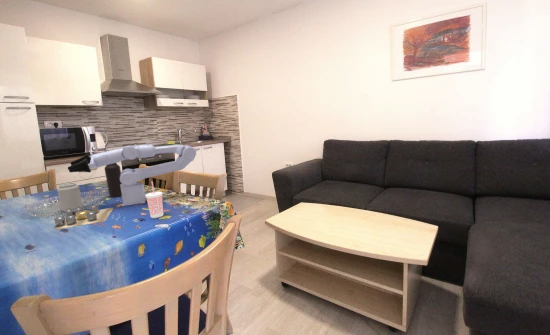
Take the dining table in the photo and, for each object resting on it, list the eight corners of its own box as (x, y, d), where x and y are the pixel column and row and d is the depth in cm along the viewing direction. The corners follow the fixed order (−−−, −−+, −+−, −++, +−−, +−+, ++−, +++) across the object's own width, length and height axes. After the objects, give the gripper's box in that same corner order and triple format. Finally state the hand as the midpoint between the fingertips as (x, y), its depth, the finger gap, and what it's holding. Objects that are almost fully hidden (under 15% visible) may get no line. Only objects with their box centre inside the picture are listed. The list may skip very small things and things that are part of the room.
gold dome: (91, 215, 108) (90, 209, 107) (88, 218, 104) (87, 212, 103) (78, 217, 106) (77, 211, 106) (75, 221, 102) (73, 215, 102)
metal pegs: (102, 210, 113) (101, 203, 112) (95, 220, 101) (94, 213, 100) (66, 216, 108) (64, 209, 108) (53, 228, 96) (52, 220, 96)
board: (113, 208, 116) (113, 207, 116) (105, 222, 101) (105, 220, 100) (69, 215, 110) (69, 214, 110) (53, 231, 95) (53, 229, 95)
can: (71, 213, 113) (66, 186, 111) (57, 213, 115) (51, 186, 112) (87, 207, 120) (82, 181, 118) (73, 207, 122) (68, 181, 120)
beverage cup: (161, 211, 109) (156, 178, 106) (167, 215, 105) (163, 180, 102) (146, 216, 105) (140, 181, 102) (152, 219, 101) (146, 184, 98)
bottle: (106, 197, 135) (99, 158, 131) (116, 193, 141) (109, 156, 138) (118, 197, 134) (111, 158, 130) (127, 193, 140) (121, 156, 136)
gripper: (104, 146, 120) (68, 154, 114) (103, 153, 108) (63, 162, 102) (109, 160, 122) (75, 169, 117) (109, 169, 111) (70, 179, 105)
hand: (70, 167), depth 110 cm, fingers open, 7 cm apart
